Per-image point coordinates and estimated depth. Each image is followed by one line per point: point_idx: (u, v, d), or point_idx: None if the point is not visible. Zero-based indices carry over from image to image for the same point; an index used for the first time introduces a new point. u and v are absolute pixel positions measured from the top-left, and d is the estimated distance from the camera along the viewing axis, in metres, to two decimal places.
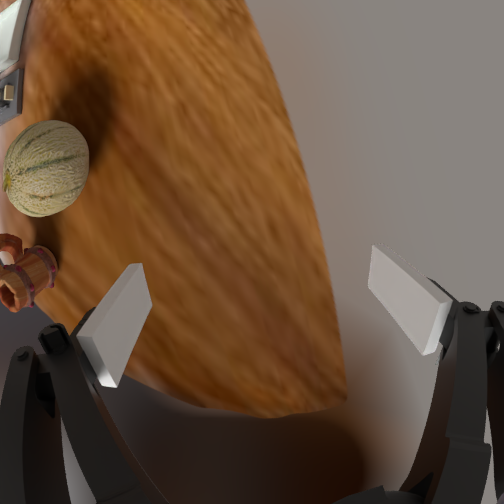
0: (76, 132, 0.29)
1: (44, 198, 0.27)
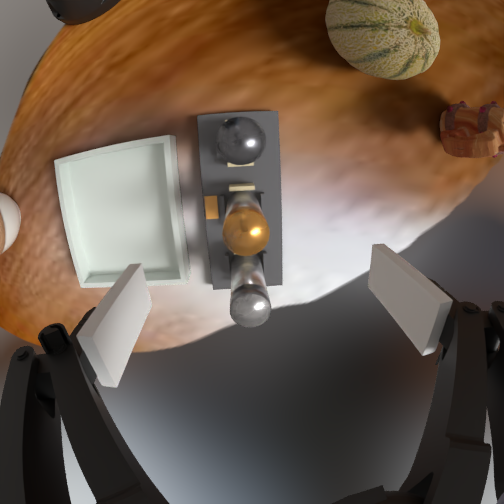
0: None
1: None
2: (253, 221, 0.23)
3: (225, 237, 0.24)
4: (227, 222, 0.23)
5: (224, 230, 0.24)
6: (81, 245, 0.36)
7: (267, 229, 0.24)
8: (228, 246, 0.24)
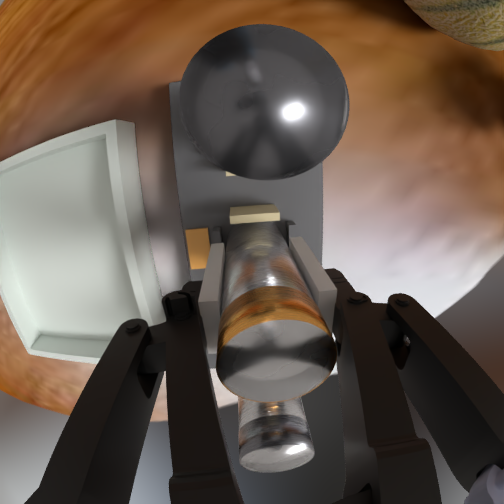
0: None
1: None
2: (299, 341, 0.08)
3: (224, 375, 0.09)
4: (228, 346, 0.08)
5: (220, 362, 0.08)
6: (21, 297, 0.21)
7: (332, 353, 0.08)
8: (233, 389, 0.09)
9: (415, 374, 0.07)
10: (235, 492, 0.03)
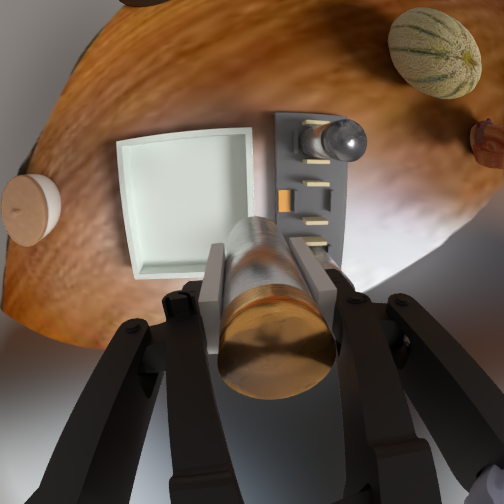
0: None
1: None
2: (299, 338, 0.08)
3: (225, 371, 0.09)
4: (229, 342, 0.08)
5: (222, 358, 0.09)
6: (137, 234, 0.37)
7: (332, 350, 0.09)
8: (234, 386, 0.09)
9: (415, 374, 0.07)
10: (235, 492, 0.03)
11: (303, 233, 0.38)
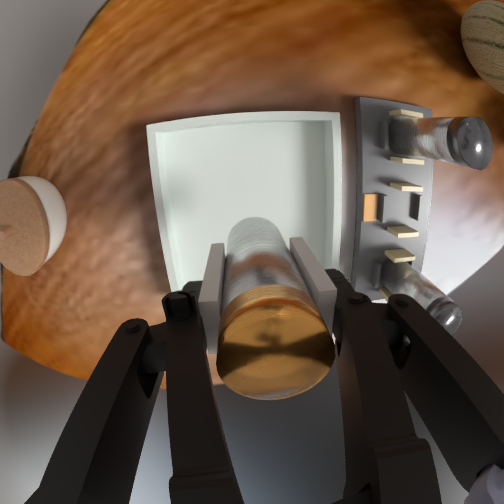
0: (477, 2, 0.12)
1: None
2: (298, 339, 0.08)
3: (224, 372, 0.09)
4: (228, 343, 0.08)
5: (221, 359, 0.09)
6: (177, 254, 0.29)
7: (330, 351, 0.09)
8: (233, 387, 0.09)
9: (415, 374, 0.07)
10: (235, 492, 0.03)
11: (387, 246, 0.29)
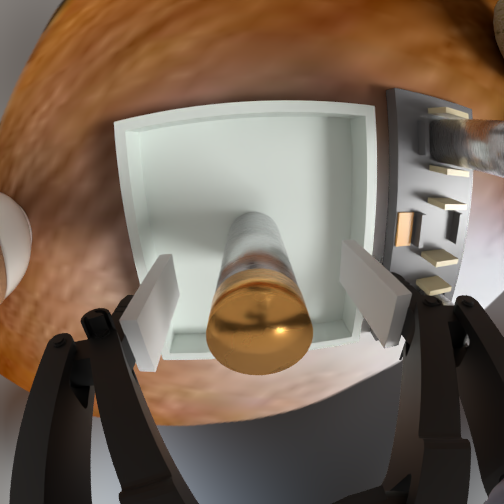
0: None
1: None
2: (277, 315, 0.10)
3: (213, 345, 0.10)
4: (215, 317, 0.10)
5: (210, 332, 0.10)
6: None
7: (309, 329, 0.10)
8: (221, 360, 0.10)
9: (468, 371, 0.07)
10: (180, 497, 0.03)
11: (419, 274, 0.23)
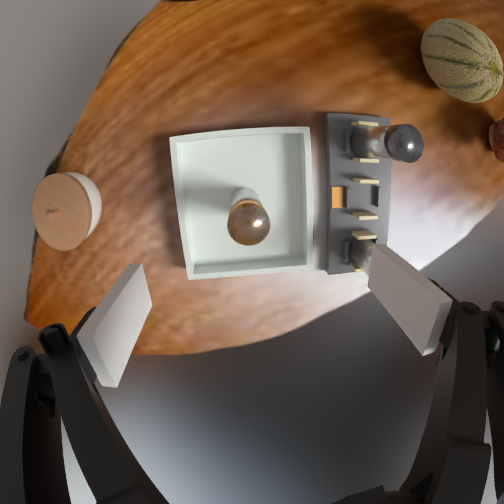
0: None
1: None
2: (255, 214, 0.26)
3: (230, 228, 0.26)
4: (231, 214, 0.26)
5: (229, 222, 0.26)
6: (190, 233, 0.38)
7: (268, 220, 0.26)
8: (232, 237, 0.26)
9: (496, 374, 0.06)
10: None
11: (353, 228, 0.39)
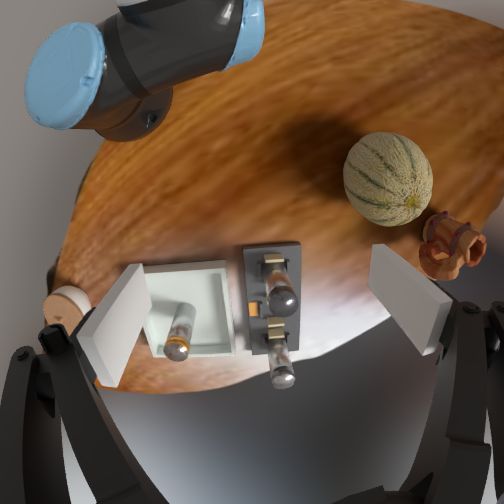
0: (365, 136, 0.35)
1: (427, 162, 0.32)
2: (178, 347, 0.40)
3: (165, 353, 0.40)
4: (165, 347, 0.40)
5: (164, 350, 0.40)
6: (152, 328, 0.52)
7: (186, 350, 0.40)
8: (167, 357, 0.41)
9: (496, 374, 0.06)
10: None
11: (268, 327, 0.53)
